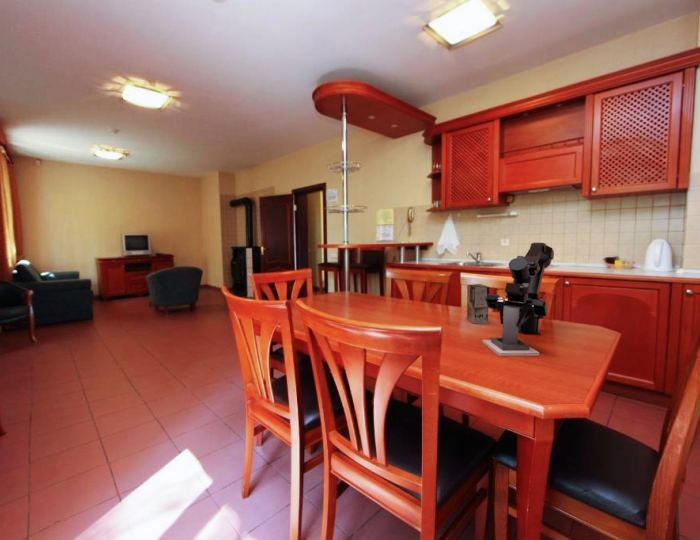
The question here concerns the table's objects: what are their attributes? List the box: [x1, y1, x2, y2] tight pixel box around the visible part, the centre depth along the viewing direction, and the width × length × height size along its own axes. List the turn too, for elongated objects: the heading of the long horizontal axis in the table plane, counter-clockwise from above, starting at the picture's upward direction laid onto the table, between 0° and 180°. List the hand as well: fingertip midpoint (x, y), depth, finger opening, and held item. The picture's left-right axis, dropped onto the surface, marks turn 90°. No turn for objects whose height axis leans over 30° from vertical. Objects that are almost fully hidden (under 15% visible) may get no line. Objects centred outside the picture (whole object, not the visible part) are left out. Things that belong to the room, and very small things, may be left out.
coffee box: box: [466, 283, 491, 325], centre depth 146 cm, size 9×6×16 cm
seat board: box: [481, 336, 540, 357], centre depth 112 cm, size 13×13×2 cm
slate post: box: [501, 306, 520, 345], centre depth 111 cm, size 5×5×12 cm
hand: (509, 325), depth 110 cm, fingers closed on slate post, 5 cm apart
